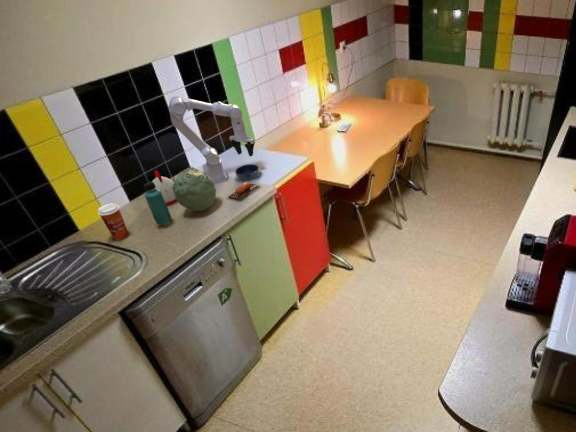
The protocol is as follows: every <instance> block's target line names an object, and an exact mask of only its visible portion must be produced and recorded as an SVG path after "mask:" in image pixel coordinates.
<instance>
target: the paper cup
mask: <svg viewBox="0 0 576 432" xmlns="http://www.w3.org/2000/svg"><path fill="white" fill-rule="evenodd" d="M120 208H121V207H120V205H118V204H116V203H107V204H104V205H102V206H100V207H99V208H98V209H97V214H98V215H99V216H100V217H101V220H102V221H103V224H104V225H105V227H106V228H107V230H108V231H109V233H110V235H111V236H112V238H113V239H114V240H116V241H119V240H123V239H125V238H127V237H128V236H129V231H128V228H127V225H126V223H125V220H124V218H123V215H122V213H121V209H120Z"/></svg>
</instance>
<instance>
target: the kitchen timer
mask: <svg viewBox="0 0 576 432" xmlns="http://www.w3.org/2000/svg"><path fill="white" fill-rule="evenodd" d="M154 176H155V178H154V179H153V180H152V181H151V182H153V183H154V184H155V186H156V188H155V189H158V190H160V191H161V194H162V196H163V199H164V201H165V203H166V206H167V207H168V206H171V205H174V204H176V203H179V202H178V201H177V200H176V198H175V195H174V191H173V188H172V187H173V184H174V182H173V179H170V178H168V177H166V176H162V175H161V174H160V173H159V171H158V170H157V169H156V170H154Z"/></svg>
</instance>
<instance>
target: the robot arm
mask: <svg viewBox="0 0 576 432" xmlns="http://www.w3.org/2000/svg"><path fill="white" fill-rule="evenodd" d="M194 109H195V110H201V111H207V112H208V111H210V112H212V114H213V115H215V116H221V117H226V118H230V121H231V125H232V131H233V135H230V136H229V141H230V145H231V146H232V147H233V148H234V150H235V151H236V153H237V155H242V154H243V152H242V151H243V150H242V145H241V144H242V143H245V144H244V147H245V148H246V151H247V153H248V154H247V155H248V156H249V157H253V156H254V148H255V144H256V142H255V139H254V138H251V137H249V135H248V134H247V130H246V126H245V124H244V120H243V112H242V109H240V106H238V105H236V104H233V103H232V104H231V103H227V104H226V103H222V101H217V102H213V103H209V102H205V101H201V100H196V99H191V98H188V97H180V96H173V97H171V98H170V99H169V103H168V110H169V115H170V121H171V124H172V126H174V128H176V129H177V130H178V132H179V133H181V134H182V136H183V137H185V138H186V139H187V141H188V142H190V143H191V144H192V145H193V147H195V148H196V150H198V151H199V152H200V154H201V155H202V156H203V157H204V158H205V163H204V164H202V170H203V174H204V175H205V176H207V175H208V177H209V178H211V179H212V180H213V182H214V183H216V182H220V181H225V180H227V172H225V170H224V166H223V163H222V160H221V158H220V156H219V154H218V151H217V149H216V148H214V147H211V146H210V145H209V144H208V143H206V142H205V140H203V139H202V138H201V137H200V136H199V135H198V134H197V133H196V131H194V130H193V128H192V127H190V125H189V124H188V123H187V122H185V120H184V117H185V114H186V113H187V112H191V111H192V110H194Z"/></svg>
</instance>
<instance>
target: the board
mask: <svg viewBox="0 0 576 432" xmlns="http://www.w3.org/2000/svg"><path fill="white" fill-rule="evenodd" d="M250 184H251V186H250V187H249V188H248V189H247V190H245V191H244V192H242V193H241V194H237V193H236V190H235V191H233V192H232V193H231V194H230V195H228V199H229V200H235V201H239V202H241V201H243V200H244V199H245V198H247V197H248V196H250V195H251V194H252V192H253V191H255V190H257V189H258V188H259V187H260V185H259V184H255V183H250Z"/></svg>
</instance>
